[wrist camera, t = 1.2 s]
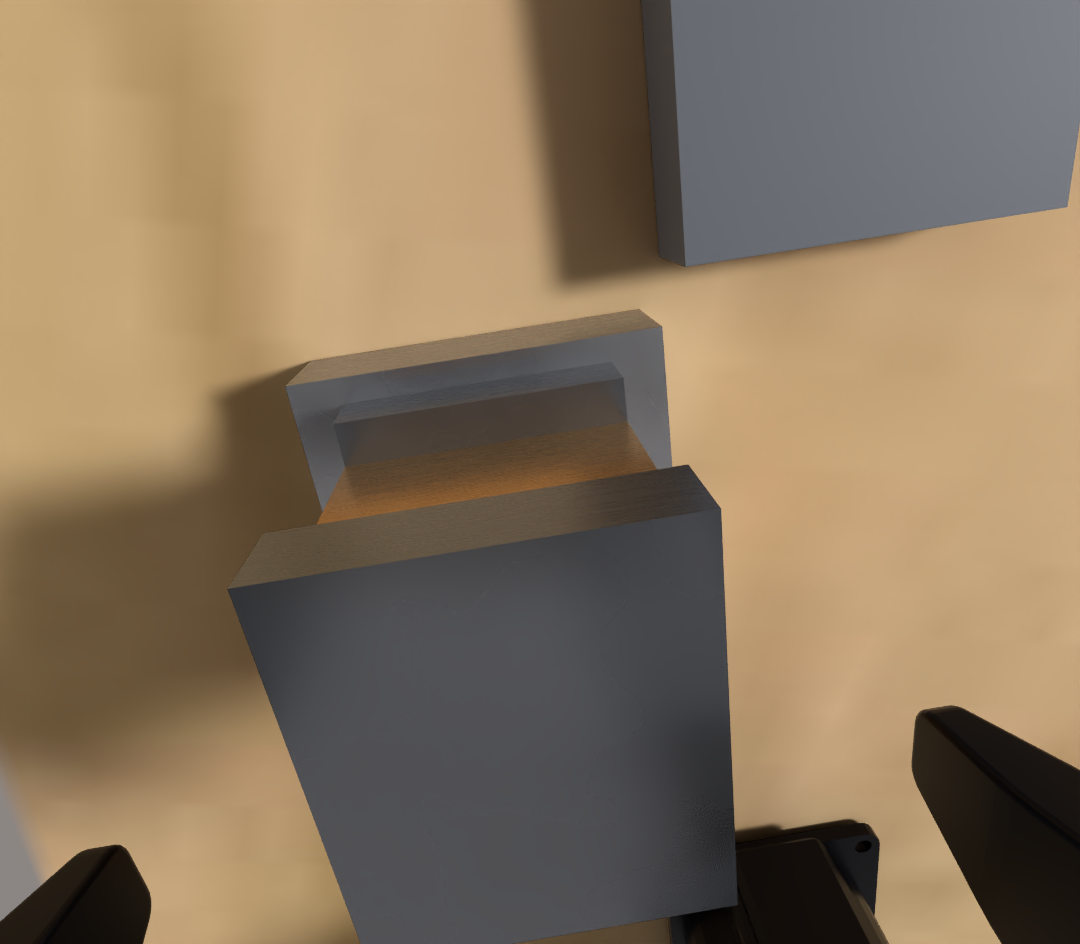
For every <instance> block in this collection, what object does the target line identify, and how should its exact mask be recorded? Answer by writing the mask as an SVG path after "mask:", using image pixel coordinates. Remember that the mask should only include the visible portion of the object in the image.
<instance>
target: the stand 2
mask: <svg viewBox="0 0 1080 944" xmlns="http://www.w3.org/2000/svg"><path fill="white" fill-rule="evenodd" d="M641 6H642V20H643V34H644V48H645V62H646V77H647V91H648V105H649V119H650V133H651V147H652V162H653V176H654V190H655V204H656V218H657V232H658V247H659V257H661V258H664V259H667V260H669V261H672V262H674V263H677V264H680V265H682V266H685V267H688V266H694V265H700V264H707V263H713V262H720V261H726V260H732V259H739V258H745V257H752V256H758V255H764V254H771V253H777V252H783V251H790V250H796V249H803V248H809V247H815V246H822V245H828V244H834V243H841V242H847V241H854V240H860V239H866V238H873V237H879V236H886V235H892V234H898V233H905V232H911V231H917V230H924V229H930V228H937V227H943V226H949V225H956V224H962V223H968V222H975V221H981V220H988V219H994V218H1000V217H1007V216H1013V215H1020V214H1026V213H1032V212H1039V211H1045V210H1051V209H1058V208H1064V207H1067V205H1068V199H1069V192H1070V185H1071V178H1072V172H1073V165H1074V158H1075V152H1076V145H1077V138H1078V131H1079V125H1080V0H641Z"/></svg>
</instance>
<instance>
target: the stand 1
mask: <svg viewBox="0 0 1080 944" xmlns="http://www.w3.org/2000/svg"><path fill="white" fill-rule="evenodd" d="M606 362H612V363H613V364H614V366H615V367H616V368H617V370H618V371H619V372H620V374H621V375H622V376H623V378H624V388H625V398H626V409H627V419H628V423H629V425H630V426H631V428H632V429H633V431H634V433H635V434H636V436H637V437H638V439H639V441H640V442H641V444H642V446H643V447H644V449H645V450H646V452H647V454H648V455H649V457H650V458H651V460H652V462H653V463H654V465H655V466H656V468H657V469H664V468H670V467H672V457H671V443H670V429H669V415H668V401H667V387H666V373H665V359H664V345H663V331H662V326H661V325H659V324H658V323H657V322H655V321H654V320H653V319H651V318H650V317H649V316H648V315H646V314H645V313H644V312H642V311H641V310H640V309H638V310H631V311H625V312H619V313H612V314H606V315H600V316H593V317H587V318H581V319H574V320H568V321H562V322H555V323H549V324H543V325H536V326H530V327H524V328H517V329H511V330H504V331H498V332H492V333H485V334H479V335H473V336H466V337H460V338H454V339H447V340H441V341H435V342H428V343H422V344H416V345H409V346H403V347H397V348H390V349H384V350H378V351H371V352H365V353H358V354H352V355H346V356H339V357H333V358H327V359H320V360H314V361H310V362H309V363H308V364H307V365H306V366H305V367H304V368H303V369H302V370H301V371H300V372H299V373H298V374H297V375H296V376H295V377H294V378H293V379H292V380H291V381H290V382H289V383H288V384H287V385H286V386H285V387H286V391H287V394H288V398H289V401H290V404H291V408H292V411H293V414H294V418H295V421H296V424H297V428H298V431H299V435H300V438H301V441H302V445H303V448H304V451H305V455H306V458H307V462H308V465H309V468H310V472H311V475H312V478H313V482H314V485H315V489H316V492H317V495H318V499H319V502H320V505H321V509H322V512H323V510H324V508H325V506H326V504H327V502H328V500H329V498H330V496H331V494H332V492H333V490H334V488H335V486H336V484H337V482H338V480H339V478H340V476H341V474H342V472H343V470H344V468H345V465H344V462H343V458H342V454H341V451H340V447H339V443H338V440H337V436H336V432H335V429H334V425H333V424H334V422H335V420H336V419H337V417H338V416H339V414H340V413H341V411H342V410H343V408H344V406H345V405H346V404H347V403H354V402H360V401H366V400H373V399H379V398H385V397H391V396H398V395H404V394H410V393H417V392H423V391H429V390H436V389H442V388H448V387H454V386H461V385H467V384H473V383H480V382H486V381H492V380H499V379H505V378H511V377H517V376H524V375H530V374H536V373H543V372H549V371H555V370H562V369H568V368H574V367H580V366H587V365H593V364H599V363H606Z"/></svg>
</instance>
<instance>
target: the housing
mask: <svg viewBox="0 0 1080 944" xmlns="http://www.w3.org/2000/svg"><path fill="white" fill-rule="evenodd" d="M333 425H334V429H335V432H336V436H337V440H338V443H339V447H340V451H341V454H342V458H343V462H344V465H345V468H344V470H343V472H342V474H341V476H340V478H339V480H338V482H337V484H336V486H335V488H334V490H333V492H332V494H331V496H330V498H329V500H328V502H327V504H326V506H325V508H324V510H323V512H322V514H321V516H320V518H319V520H318V522H317V524H316V525H310V526H304V527H298V528H292V529H286V530H279V531H273V532H267V533H263V534H262V536H261V537H260V539H259V541H258V542H257V544H256V545H255V547H254V548H253V550H252V551H251V553H250V555H249V556H248V558H247V559H246V561H245V562H244V564H243V565H242V567H241V569H240V570H239V572H238V573H237V575H236V576H235V578H234V579H233V581H232V583H231V584H230V586H229V587H228V592H229V594H230V597H231V600H232V602H233V605H234V608H235V610H236V613H237V615H238V618H239V621H240V623H241V626H242V629H243V631H244V634H245V637H246V639H247V642H248V645H249V647H250V650H251V653H252V655H253V658H254V661H255V663H256V666H257V669H258V671H259V674H260V677H261V679H262V682H263V685H264V687H265V690H266V693H267V695H268V698H269V701H270V703H271V706H272V709H273V711H274V714H275V717H276V719H277V722H278V725H279V727H280V730H281V733H282V735H283V738H284V741H285V743H286V746H287V749H288V751H289V754H290V757H291V759H292V762H293V765H294V767H295V770H296V773H297V775H298V778H299V781H300V783H301V786H302V788H303V791H304V794H305V796H306V799H307V802H308V804H309V807H310V810H311V812H312V815H313V818H314V820H315V823H316V826H317V828H318V831H319V834H320V836H321V839H322V842H323V844H324V847H325V850H326V852H327V855H328V858H329V860H330V863H331V866H332V868H333V871H334V874H335V876H336V879H337V882H338V884H339V887H340V890H341V892H342V895H343V898H344V900H345V903H346V906H347V908H348V911H349V914H350V916H351V919H352V922H353V924H354V927H355V930H356V932H357V935H358V938H359V940H360V943H361V944H514V943H520V942H526V941H532V940H538V939H544V938H549V937H555V936H561V935H567V934H573V933H578V932H584V931H590V930H596V929H602V928H607V927H613V926H619V925H625V924H631V923H637V922H642V921H648V920H654V919H660V918H666V917H671V916H677V915H683V914H689V913H695V912H700V911H706V910H712V909H718V908H724V907H729V906H735V905H738V897H737V874H736V850H735V827H734V804H733V780H732V757H731V733H730V710H729V686H728V663H727V639H726V616H725V592H724V569H723V546H722V522H721V508H720V507H719V505H718V504H717V503H716V501H715V500H714V499H713V497H712V496H711V495H710V493H709V492H708V491H707V489H706V488H705V487H704V485H703V484H702V483H701V481H700V480H699V479H698V477H697V476H696V474H695V473H694V472H693V470H692V469H691V468H690V466H689V465H682V466H676V467H670V468H664V469H657V468H656V466H655V465H654V463H653V462H652V460H651V458H650V457H649V455H648V454H647V452H646V450H645V449H644V447H643V446H642V444H641V442H640V441H639V439H638V437H637V436H636V434H635V433H634V431H633V429H632V428H631V426H630V425H629V423H628V419H627V409H626V398H625V388H624V378H623V376H622V375H621V374H620V372H619V371H618V370H617V368H616V367H615V366H614V364H613V363H612V362H606V363H599V364H593V365H587V366H580V367H574V368H568V369H562V370H555V371H549V372H543V373H536V374H530V375H524V376H517V377H511V378H505V379H499V380H492V381H486V382H480V383H473V384H467V385H461V386H454V387H448V388H442V389H436V390H429V391H423V392H417V393H410V394H404V395H398V396H391V397H385V398H379V399H373V400H366V401H360V402H354V403H347V404H346V405H345V406H344V408H343V410H342V411H341V413H340V414H339V416H338V417H337V419H336V420H335V422H334V424H333Z"/></svg>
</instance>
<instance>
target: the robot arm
mask: <svg viewBox="0 0 1080 944" xmlns="http://www.w3.org/2000/svg"><path fill="white" fill-rule="evenodd" d="M912 772H913V776H914V779H915V782H916V785H917V787H918V789H919V791H920V793H921V795H922V797H923V798H924V800H925V802H926V804H927V806H928V808H929V810H930V812H931V814H932V816H933V818H934V820H935V821H936V823H937V825H938V827H939V829H940V831H941V833H942V835H943V837H944V839H945V841H946V843H947V844H948V846H949V848H950V850H951V852H952V854H953V856H954V858H955V860H956V862H957V864H958V865H959V867H960V869H961V871H962V873H963V875H964V877H965V879H966V881H967V883H968V885H969V887H970V888H971V890H972V892H973V894H974V896H975V898H976V900H977V902H978V904H979V905H980V907H981V909H982V911H983V913H984V915H985V916H986V918H987V920H988V922H989V924H990V925H991V927H992V929H993V930H994V932H995V934H996V935H997V937H998V939H999V940H1000V942H1001V943H1002V944H1080V770H1079V769H1077V768H1075V767H1074V766H1072V765H1070V764H1068V763H1066V762H1064V761H1062V760H1060V759H1058V758H1056V757H1055V756H1053V755H1051V754H1049V753H1047V752H1045V751H1043V750H1041V749H1039V748H1037V747H1036V746H1034V745H1032V744H1030V743H1028V742H1026V741H1024V740H1022V739H1020V738H1018V737H1017V736H1015V735H1013V734H1011V733H1009V732H1007V731H1005V730H1003V729H1001V728H999V727H998V726H996V725H994V724H992V723H990V722H988V721H986V720H984V719H982V718H980V717H979V716H977V715H975V714H973V713H971V712H969V711H967V710H965V709H963V708H961V707H958V706H952V705H950V706H943V707H937V708H931V709H925V710H922V711H920V712H919V713H918V715H917V716H916V720H915V729H914V740H913V752H912ZM879 847H880V843H879V839H878V837H877V836H876V834H875V832H874V831H873V829H872V828H871V827H870V826H869V825H868V824H864V823H856V824H851V825H845V826H839V827H833V828H827V829H821V830H815V831H809V832H804V833H798V834H792V835H786V836H780V837H774V838H768V839H763V840H757V841H751V842H745V843H739V844H735V850H736V874H737V897H738V905H735V906H729V907H724V908H718V909H712V910H706V911H700V912H695V913H689V914H683V915H677V916H671V917H668V923H669V932H670V942H671V944H889V943H888V941H887V939H886V937H885V935H884V933H883V931H882V930H881V928H880V926H879V924H878V922H877V920H876V918H875V917H874V914H875V901H876V888H877V874H878V861H879ZM150 914H151V897H150V892H149V890H148V888H147V886H146V884H145V882H144V880H143V878H142V876H141V874H140V872H139V871H138V869H137V867H136V865H135V863H134V861H133V859H132V857H131V855H130V854H129V852H128V850H127V849H126V848H124V847H123V846H121V845H110V846H104V847H98V848H92V849H87V850H84V851H82V852H80V853H78V854H77V855H76V856H74V857H73V858H72V859H71V860H70V861H68V862H67V863H66V864H65V865H64V866H63V867H62V868H60V869H59V870H58V871H57V872H56V873H55V874H54V875H53V876H51V877H50V878H49V879H48V880H47V881H46V882H45V883H43V884H42V885H41V886H40V887H39V888H38V889H37V890H36V891H34V892H33V893H32V894H31V895H30V896H29V897H28V898H26V899H25V900H24V901H23V902H22V903H21V904H20V905H18V906H17V907H16V908H15V909H14V910H13V911H12V912H11V913H9V914H8V915H7V916H6V917H5V918H4V919H3V920H1V921H0V944H143V942H144V938H145V934H146V930H147V927H148V923H149V919H150Z"/></svg>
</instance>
